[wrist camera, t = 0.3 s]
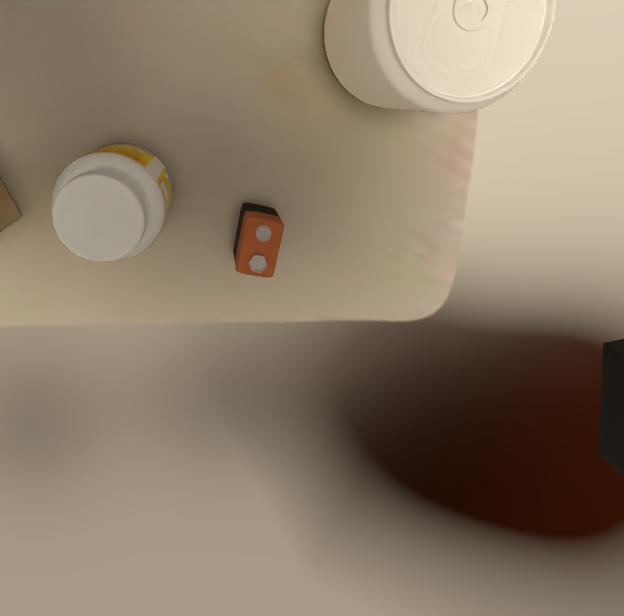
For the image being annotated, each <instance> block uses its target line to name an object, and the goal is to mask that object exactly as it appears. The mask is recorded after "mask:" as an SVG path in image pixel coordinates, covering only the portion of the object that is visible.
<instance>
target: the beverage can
mask: <svg viewBox="0 0 624 616" xmlns="http://www.w3.org/2000/svg"><path fill="white" fill-rule="evenodd" d="M556 4H557V0H331V1H330V4H329V6H328V10H327V14H326V19H325V27H324V41H325V48H326V53H327V57H328V60H329V63H330V66H331V68H332V70H333V72H334V74H335V76H336V77H337V79H338V80H339V82H340V83H341V84H342V85H343V87H344V88H345V89H346V90H347V91H348V92H349V93H351V94H352V95H353V96H355V97H356V98H358V99H359V100H361V101H363V102H365V103H367V104H370V105H373V106H377V107H383V108H393V109H403V110H413V111H423V112H433V113H443V114H460V113H467V112H471V111H475V110H478V109H481V108H483V107H486V106H488V105H490V104H492V103H493V102H495V101H497V100H499V99H500V98H502V97H503V96H504V95H506V94H507V93H508V92H509V91H511V90H512V89H513V88H514V87H515V86H516V85H517V84H518V83H519V82H520V81H521V80H522V79H523V78H524V77H525V75H527V74H528V73H529V71H530V70H531V69H532V68H533V67H534V65H535V64H536V62H537V61H538V59H539V58H540V56H541V54H542V52H543V51H544V49H545V47H546V44H547V42H548V40H549V37H550V34H551V31H552V28H553V24H554V19H555V14H556Z"/></svg>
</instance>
